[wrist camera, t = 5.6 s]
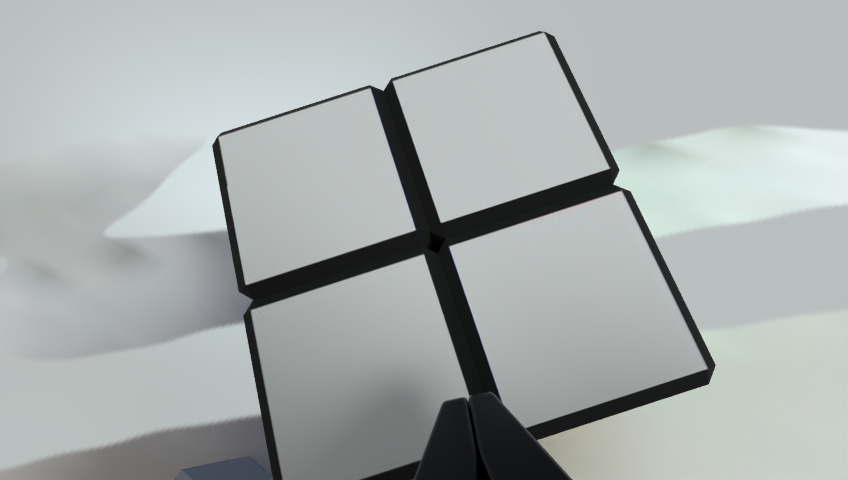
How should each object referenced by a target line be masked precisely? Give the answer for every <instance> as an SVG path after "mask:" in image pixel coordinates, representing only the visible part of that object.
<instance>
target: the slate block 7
mask: <svg viewBox="0 0 848 480" xmlns="http://www.w3.org/2000/svg"><path fill="white" fill-rule="evenodd" d="M174 480H273V477H272V476H271V475H270V474H268V473H267V472H266V471H265V470H264V469H263V468H262V467H260V466H259V465H258V464H257V463H256V462H255V461H253V460H252V459H251V458H250V457H249V456H247V457H242V458H237V459H232V460H227V461H222V462H217V463H212V464H207V465H202V466H197V467H192V468H188V469H183V470H181V471H180V473H179V474H178V475H177V477H176V478H175V479H174Z"/></svg>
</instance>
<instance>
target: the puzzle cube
mask: <svg viewBox="0 0 848 480" xmlns="http://www.w3.org/2000/svg"><path fill="white" fill-rule="evenodd" d="M212 147H213V152H214V158H215V164H216V169H217V174H218V180H219V185H220V191H221V196H222V202H223V207H224V212H225V218H226V223H227V229H228V235H229V240H230V246H231V251H232V257H233V262H234V267H235V273H236V278H237V284H238V289H239V292H240V293H242V294H244V295H246V296H247V297H249V298H251V299H253V301H252V303H251V305H250V306H249V308H248V309H247V311H246V313H245V314H244V316H243V317H244V322H245V328H246V333H247V338H248V344H249V349H250V354H251V360H252V365H253V371H254V377H255V382H256V388H257V392H258V399H259V404H260V410H261V415H262V421H263V426H264V432H265V437H266V442H267V448H268V453H269V459H270V464H271V470H272V475H273V480H413V479H414V478H415V475H416V472H417V469H418V467H419V464H420V461H421V459H422V456H423V453H424V450H425V448H426V445H427V442H428V440H429V437H430V434H431V432H432V429H433V426H434V423H435V421H436V418H437V415H438V413H439V410H440V407H441V405H442V403H443V402H444V401H446V400H450V399H455V398H460V397H465V398H467V400H468V398H469V397H470V396H471V395H475V394H480V393H485V392H492V393H493V394H495V395H496V396H497V398H498V399H499V400H500V401H501V402H502V403H503V404H504V405H505V406H506V407H507V409H508V410H509V411H510V412H511V413H512V414H513V415H514V416H515V417H516V418H517V420H518V421H519V422H520V423H521V424H522V425H523V426H524V427H525V428H526V429H527V431H528V432H529V433H530V434H531V435H532V436H533V437H534V438H535V439H536V440H539V439H542V438H545V437H548V436H551V435H554V434H557V433H560V432H563V431H566V430H569V429H572V428H575V427H579V426H582V425H585V424H588V423H591V422H594V421H597V420H600V419H603V418H606V417H609V416H612V415H615V414H618V413H622V412H625V411H628V410H631V409H634V408H637V407H640V406H643V405H646V404H649V403H652V402H655V401H658V400H662V399H665V398H668V397H671V396H674V395H677V394H680V393H683V392H686V391H689V390H692V389H695V388H698V387H702V386H705V385H708V384H709V382H710V379H711V376H712V374H713V371H714V368H715V366H716V365H715V363H714V361H713V359H712V357H711V355H710V353H709V351H708V349H707V347H706V345H705V342H704V340H703V338H702V336H701V334H700V332H699V330H698V328H697V326H696V324H695V322H694V320H693V318H692V316H691V314H690V312H689V310H688V308H687V306H686V304H685V302H684V300H683V298H682V296H681V293H680V291H679V290H678V287H677V285H676V283H675V281H674V279H673V277H672V275H671V273H670V271H669V269H668V267H667V265H666V263H665V261H664V259H663V257H662V255H661V253H660V251H659V249H658V247H657V245H656V242H655V240H654V238H653V236H652V234H651V232H650V230H649V228H648V226H647V224H646V222H645V220H644V218H643V216H642V214H641V212H640V210H639V208H638V206H637V204H636V202H635V200H634V198H633V196H632V193H631V192H630V191H628V190H625V189H623V188H620V187H618V186H616V185H613V183H614V181H615V179H616V177H617V174H618V172H619V168H618V166H617V164H616V162H615V160H614V158H613V156H612V154H611V152H610V150H609V147H608V145H607V144H606V142H605V139H604V137H603V135H602V133H601V131H600V129H599V127H598V125H597V123H596V121H595V119H594V117H593V115H592V113H591V111H590V109H589V107H588V105H587V103H586V101H585V98H584V97H583V94H582V92H581V90H580V88H579V86H578V84H577V82H576V80H575V78H574V76H573V74H572V72H571V70H570V68H569V66H568V64H567V62H566V60H565V58H564V56H563V54H562V51H561V49H560V48H559V45H558V43H557V41H556V39H555V37H554V36H552V35H550V34H548V33H546V32H541V31H538V32H535V33H532V34H529V35H526V36H523V37H520V38H517V39H513V40H510V41H508V42H504V43H501V44H498V45H495V46H492V47H489V48H485V49H482V50H479V51H476V52H473V53H470V54H467V55H464V56H461V57H457V58H454V59H451V60H448V61H445V62H442V63H439V64H436V65H433V66H429V67H426V68H424V69H420V70H417V71H414V72H411V73H408V74H405V75H402V76H399V77H395V78H392V79H391V80H390V82H389V83H388V85H387V86H386V88H385V90H384V91H382V90H380V89H377V88H375V87H373V86H370V85H369V86H366V87H363V88H359V89H357V90H353V91H350V92H347V93H344V94H341V95H338V96H334V97H331V98H328V99H325V100H322V101H319V102H316V103H313V104H310V105H306V106H303V107H300V108H297V109H294V110H291V111H288V112H285V113H282V114H278V115H275V116H272V117H269V118H266V119H263V120H260V121H257V122H254V123H250V124H247V125H245V126H241V127H238V128H235V129H232V130H229V131H226V132H223V133H221V134H220V135H219V136H218V137H217V138H216V140H215V142H214V144H213V146H212ZM468 403H469V402H468Z"/></svg>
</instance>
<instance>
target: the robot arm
mask: <svg viewBox="0 0 848 480" xmlns="http://www.w3.org/2000/svg"><path fill="white" fill-rule="evenodd" d="M468 402H469V403H468ZM414 480H572V479H571V478H570V477H569V476H568V474H567V473H566V472H565V471H564V470H563V469H562V468H561V467H560V466H559V465H558V463H557V462H556V461H555V460H554V459H553V458H552V457H551V456H550V455H549V454H548V452H547V451H546V450H545V449H544V448H543V447H542V446H541V445H540V444H539V443H538V441H537V440H536V439H535V438H534V437H533V436H532V435H531V434H530V433H529V432H528V431H527V429H526V428H525V427H524V426H523V425H522V424H521V423H520V422H519V421H518V420H517V418H516V417H515V416H514V415H513V414H512V413H511V412H510V411H509V410H508V409H507V407H506V406H505V405H504V404H503V403H502V402H501V401H500V400H499V399H498V398H497V396H496V395H495V394H493V393H492V392H485V393H480V394H475V395H471V396H470V397H469V398H468V400H467V398H465V397H460V398H455V399H450V400H446V401H444V402H443V403H442V405H441V407H440V410H439V413H438V415H437V418H436V421H435V423H434V426H433V429H432V432H431V434H430V437H429V440H428V442H427V445H426V448H425V450H424V453H423V456H422V459H421V461H420V464H419V467H418V469H417V472H416V475H415V478H414Z"/></svg>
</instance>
